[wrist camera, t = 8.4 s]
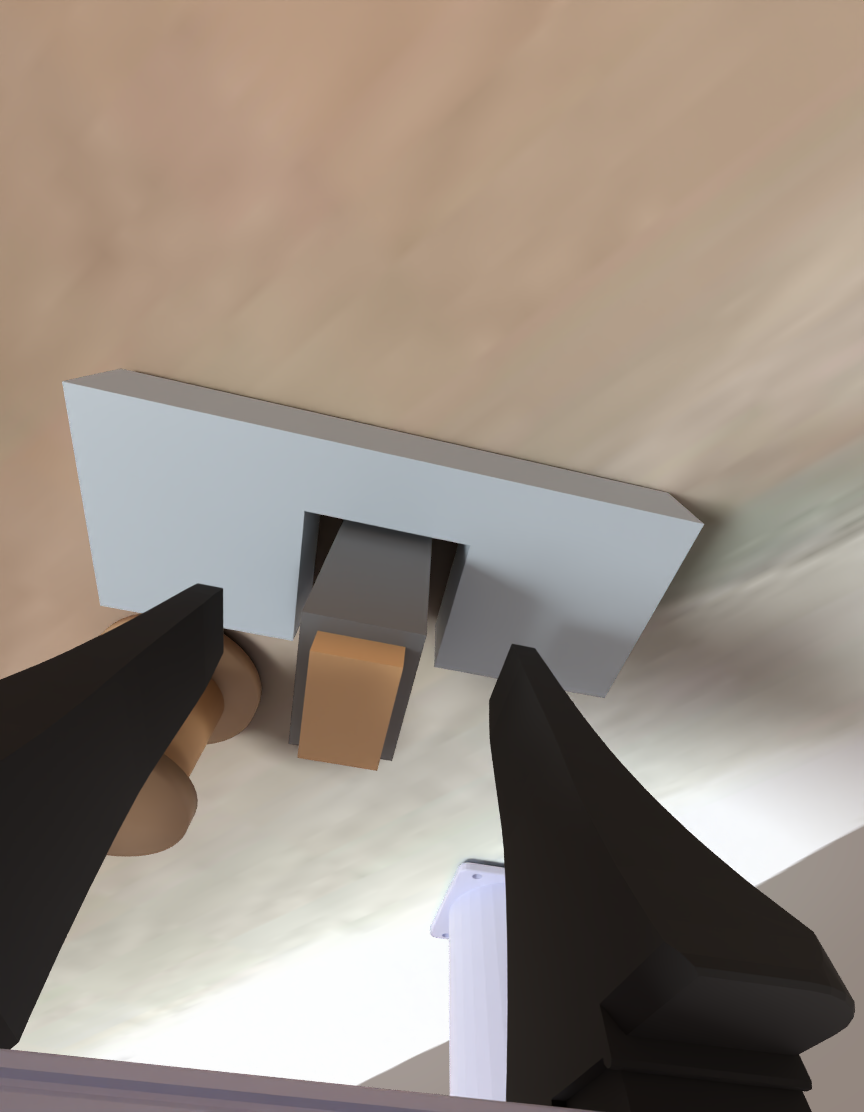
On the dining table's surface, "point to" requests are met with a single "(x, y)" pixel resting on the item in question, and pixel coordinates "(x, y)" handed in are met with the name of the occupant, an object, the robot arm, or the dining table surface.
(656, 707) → the dining table surface
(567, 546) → the board
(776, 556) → the dining table surface
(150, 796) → the tan wooden yo-yo
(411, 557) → the grey rectangular block
